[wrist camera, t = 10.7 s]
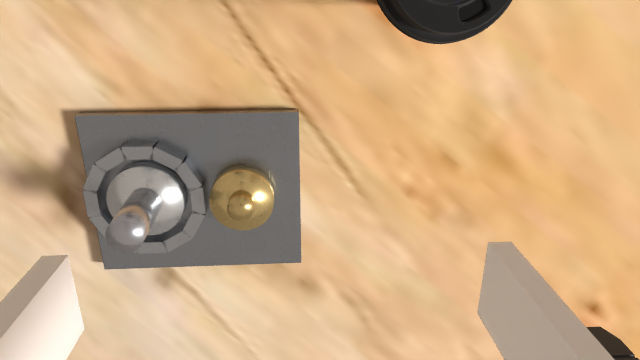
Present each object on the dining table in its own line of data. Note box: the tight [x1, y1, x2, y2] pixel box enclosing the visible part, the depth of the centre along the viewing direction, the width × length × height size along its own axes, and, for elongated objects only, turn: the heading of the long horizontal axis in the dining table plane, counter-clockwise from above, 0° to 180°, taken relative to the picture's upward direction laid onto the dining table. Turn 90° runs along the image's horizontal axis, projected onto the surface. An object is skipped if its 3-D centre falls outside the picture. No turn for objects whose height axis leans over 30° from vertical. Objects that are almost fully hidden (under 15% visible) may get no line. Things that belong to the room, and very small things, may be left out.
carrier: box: [75, 109, 301, 269], centre depth 46 cm, size 16×20×5 cm
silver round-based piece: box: [105, 162, 187, 253], centre depth 43 cm, size 7×7×8 cm
